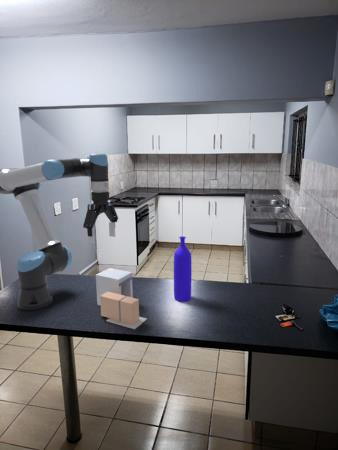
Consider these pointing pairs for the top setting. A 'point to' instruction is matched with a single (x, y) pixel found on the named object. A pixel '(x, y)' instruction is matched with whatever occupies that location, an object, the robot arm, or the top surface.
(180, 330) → the top surface
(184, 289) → the bottle
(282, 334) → the top surface
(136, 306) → the wooden twin blocks
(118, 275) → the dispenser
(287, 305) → the top surface
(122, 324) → the pad
